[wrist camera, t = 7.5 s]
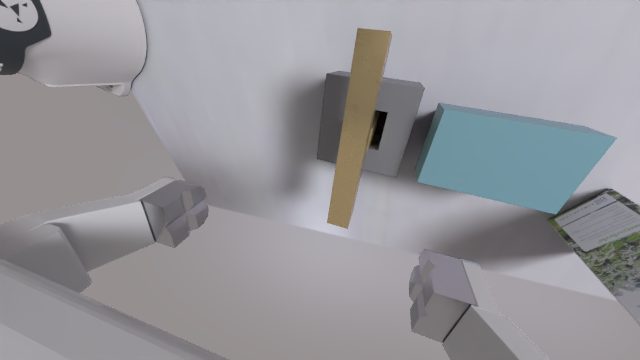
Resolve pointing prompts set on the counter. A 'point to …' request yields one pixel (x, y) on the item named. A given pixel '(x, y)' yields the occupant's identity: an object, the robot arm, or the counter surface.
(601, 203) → the syrup box
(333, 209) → the T-key
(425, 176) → the cover
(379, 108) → the block
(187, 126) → the counter surface
